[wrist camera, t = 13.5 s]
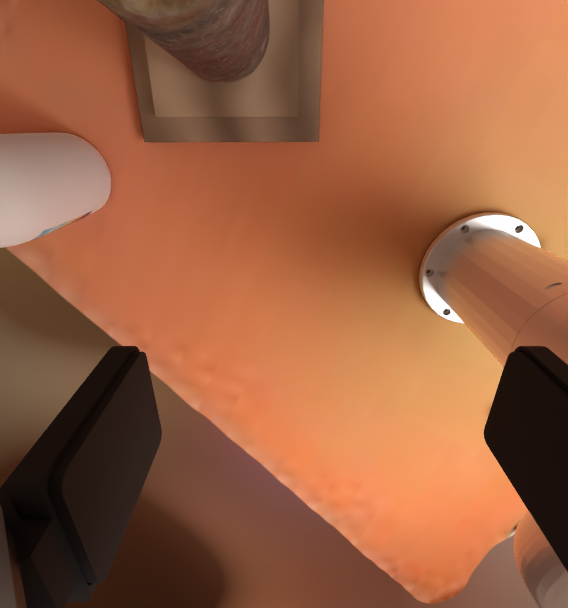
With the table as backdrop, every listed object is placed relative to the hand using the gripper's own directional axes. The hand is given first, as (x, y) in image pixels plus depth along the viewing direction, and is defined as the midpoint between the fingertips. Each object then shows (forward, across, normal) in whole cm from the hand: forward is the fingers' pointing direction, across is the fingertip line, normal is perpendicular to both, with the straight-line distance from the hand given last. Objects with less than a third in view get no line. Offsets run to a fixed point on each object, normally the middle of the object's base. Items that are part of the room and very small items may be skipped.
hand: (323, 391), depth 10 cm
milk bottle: (+31, +22, -2) cm, 38 cm away
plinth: (+30, +6, -13) cm, 34 cm away
